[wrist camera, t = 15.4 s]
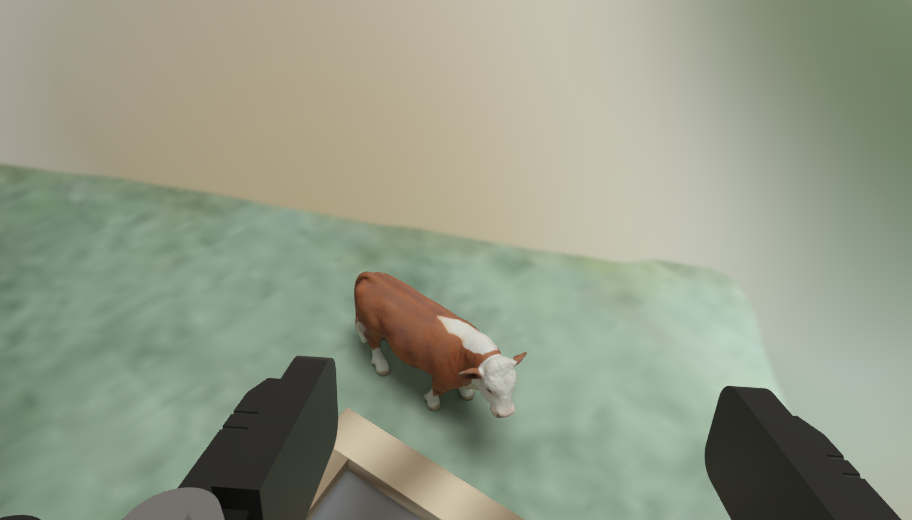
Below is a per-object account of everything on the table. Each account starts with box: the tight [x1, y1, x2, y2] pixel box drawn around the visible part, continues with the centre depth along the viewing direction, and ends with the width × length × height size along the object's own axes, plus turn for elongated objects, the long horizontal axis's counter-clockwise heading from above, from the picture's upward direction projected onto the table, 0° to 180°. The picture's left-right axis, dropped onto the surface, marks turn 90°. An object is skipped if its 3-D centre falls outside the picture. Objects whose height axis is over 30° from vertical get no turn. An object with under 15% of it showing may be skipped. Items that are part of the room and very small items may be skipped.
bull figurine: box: [354, 272, 527, 418], centre depth 33 cm, size 4×13×8 cm, turn 50°
